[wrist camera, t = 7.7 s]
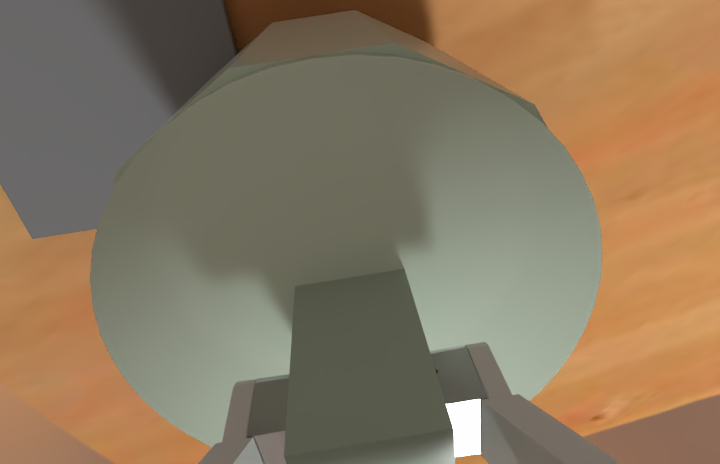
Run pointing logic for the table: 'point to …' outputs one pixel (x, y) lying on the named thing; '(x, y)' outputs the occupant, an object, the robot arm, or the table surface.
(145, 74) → the slate mat
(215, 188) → the cloche
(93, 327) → the table surface
